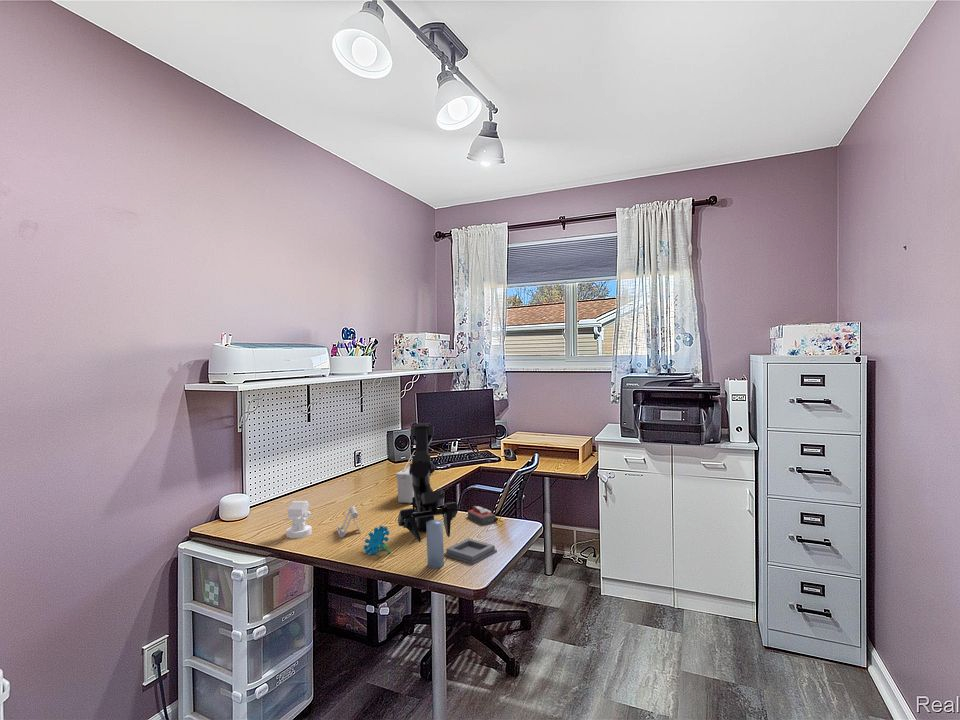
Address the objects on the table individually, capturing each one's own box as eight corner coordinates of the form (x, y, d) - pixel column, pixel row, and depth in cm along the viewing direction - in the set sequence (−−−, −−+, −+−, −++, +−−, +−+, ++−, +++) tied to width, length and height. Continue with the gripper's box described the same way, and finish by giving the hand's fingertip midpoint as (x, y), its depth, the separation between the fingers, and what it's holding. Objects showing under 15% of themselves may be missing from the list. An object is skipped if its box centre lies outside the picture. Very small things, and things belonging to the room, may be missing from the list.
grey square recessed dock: (444, 555, 156) (444, 548, 156) (468, 543, 165) (468, 537, 165) (473, 564, 148) (473, 557, 148) (497, 551, 158) (496, 545, 158)
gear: (357, 545, 162) (378, 520, 166) (369, 553, 165) (389, 528, 168) (371, 560, 153) (393, 533, 157) (383, 568, 156) (404, 542, 160)
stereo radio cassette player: (412, 504, 211) (411, 458, 211) (395, 503, 214) (393, 458, 214) (430, 491, 232) (429, 449, 232) (414, 491, 234) (413, 449, 234)
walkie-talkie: (503, 522, 187) (475, 509, 204) (502, 510, 187) (475, 498, 204) (483, 526, 182) (457, 513, 199) (483, 515, 182) (457, 502, 199)
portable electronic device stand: (337, 530, 182) (336, 508, 182) (358, 527, 184) (358, 505, 184) (339, 538, 174) (338, 514, 174) (361, 535, 176) (361, 511, 176)
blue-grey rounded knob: (424, 565, 148) (422, 523, 148) (435, 560, 152) (434, 518, 152) (435, 570, 145) (434, 526, 145) (447, 564, 149) (446, 521, 149)
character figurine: (315, 530, 183) (314, 498, 183) (303, 539, 173) (302, 505, 173) (293, 529, 184) (292, 497, 184) (280, 539, 174) (279, 505, 174)
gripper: (398, 483, 150) (408, 530, 140) (455, 476, 157) (469, 520, 147) (393, 503, 157) (403, 549, 147) (448, 495, 164) (461, 538, 154)
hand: (434, 539), depth 148 cm, fingers open, 9 cm apart
